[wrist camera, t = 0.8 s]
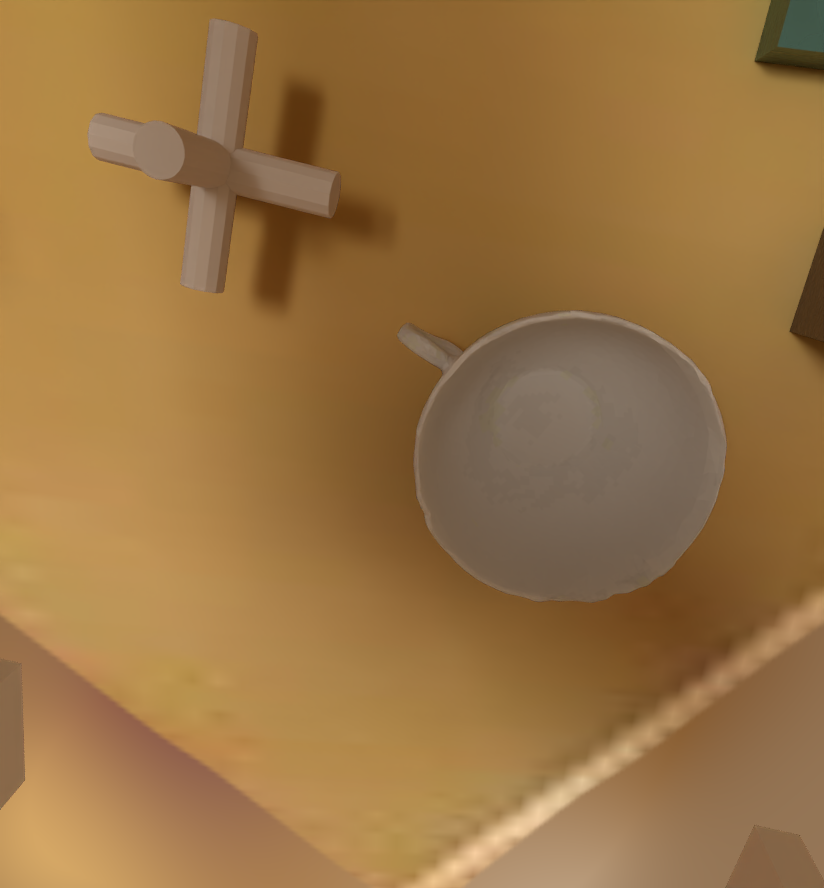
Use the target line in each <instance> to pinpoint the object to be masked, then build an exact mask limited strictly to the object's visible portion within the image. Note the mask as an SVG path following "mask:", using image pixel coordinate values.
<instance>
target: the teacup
mask: <svg viewBox="0 0 824 888" xmlns="http://www.w3.org/2000/svg"><path fill="white" fill-rule="evenodd" d="M397 337H398V339H399V340H400V341H401V342H402V343H403V344H404V345H405V346H406V347H408V348H409V349H410V350H411V351H413V352H414V353H416V354H417V355H418V356H420V357H421V358H423V359H425V360H426V361H428V362H429V363H431V364H433V365H434V366H436V367H438V368H439V369H441V371H442V374H443V375H442V377H441V378H440V380H439V381H438V383H437V384H436V386H435V387H434V389H433V391H432V392H431V394H430V396H429V398H428V400H427V402H426V403H425V406H424V409H423V411H422V414H421V416H420V419H419V422H418V426H417V431H416V440H415V449H414V458H413V461H414V474H415V483H416V498H417V500H418V501H419V503H420V507H421V509H423V512H424V515H425V516H424V517H425V522H426V525H427V527H428V529H429V531H430V532H431V534H432V535H433V537H434V538H435V539H436V541H437V542H438V543H439V545H440V546H441V547H442V548H443V549H444V550H445V551H446V552H447V553H448V554H449V555H450V556H451V557H452V558H453V559H454V561H455V562H456V563H457V564H458V565H460V566H461V567H462V568H463V569H464V570H465V571H466V572H468V573H469V574H470V575H472V576H473V577H474V578H476V579H477V580H479V581H481V582H482V583H484V584H486V585H489V586H491V587H493V588H495V589H497V590H499V591H501V592H504V593H506V594H511V595H516V596H520V597H524V598H528V599H530V600H532V601H536V602H543V601H550V600H554V601H581V602H590V603H594V602H597V601H602V600H606V599H607V598H609V597H610V596H612V595H614V594H622V593H630V592H632V591H634V590H636V589H638V588H641V587H645V586H648V585H649V584H650V583H651V582H652V581H653V580H655V579H656V578H657V577H660V576H663V575H664V574H665V573H666V572H667V571H668V570H669V569H671V568H672V567H673V566H674V565H675V563H676V561H677V560H678V559H679V558H680V557H681V555H682V554H683V553H684V552H685V551H686V550H687V549H688V547H689V546H690V545H691V544H692V543H693V542H694V540H695V539H696V537H697V536H698V535H699V533H700V532H701V530H702V529H703V528H704V526H705V524H706V522H707V520H708V518H709V515H710V513H711V511H712V509H713V507H714V505H715V502H716V500H717V496H718V492H719V488H720V485H721V482H722V479H723V475H724V471H725V465H724V463H725V457H726V449H727V442H726V434H725V429H724V425H723V420H722V416H721V413H720V410H719V407H718V405H717V402H716V400H715V397H714V396H713V394H712V390H711V386H710V384H709V382H708V380H707V379H706V377H705V376H704V375H703V374H702V373H701V371H700V370H699V369H698V368H697V366H696V365H695V363H694V362H693V361H692V360H691V359H690V358H688V357H687V356H686V355H685V354H683V353H682V352H681V351H680V350H679V349H677V348H676V347H675V346H674V345H672V344H671V343H670V342H668V341H666V340H665V339H663V338H662V337H660V336H658V335H657V334H655V333H654V332H652V331H650V330H648V329H646V328H644V327H642V326H640V325H638V324H635V323H632V322H630V321H627V320H625V319H622V318H619V317H616V316H612V315H608V314H603V313H597V312H590V311H580V310H572V311H554V312H546V313H540V314H536V315H532V316H528V317H524V318H520V319H518V320H515V321H512V322H509V323H507V324H505V325H503V326H501V327H499V328H496V329H494V330H493V331H491V332H489V333H487V334H486V335H484V336H482V337H481V338H479V339H478V340H477V341H475V342H474V343H473V344H472V345H470V346H469V347H468V348H467V349H466V350H465V351H464V352H463V351H462V350H461V349H459V348H458V347H457V346H455V345H454V344H452V343H451V342H449V341H447V340H444V339H442V338H439V337H436V336H434V335H431V334H429V333H427V332H425V331H423V330H422V329H420V328H418V327H416V326H415V325H413V324H412V323H406V324H405V325H403V326H402V327H401V329H400V331H399V332H398V334H397Z"/></svg>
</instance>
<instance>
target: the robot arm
mask: <svg viewBox="0 0 824 888" xmlns="http://www.w3.org/2000/svg"><path fill="white" fill-rule="evenodd" d="M22 699H23V697H22V664H21V663H18V662H14V661H9V660H5V659H0V809H1V808H2V807H3V806H4V804H5V803H6V802H7V801H8V800H9V799H10V797H11V796H12V795H13V794H14V793H15V791H16V790H17V789H18V788H19V787H20V786H21V784H22V783H23V782H24V781H25V767H24V766H25V765H24V731H23V700H22ZM725 888H824V880H823V878H822V876H821V874H820V872H819V870H818V869H817V867H816V865H815V863H814V861H813V859H812V858H811V855H810V854H809V852H808V850H807V848H806V846H805V844H804V843H803V841H802V839H801V837H800V835H797V834H792V833H788V832H783V831H779V830H774V829H770V828H765V827H761V826H756V825H754V827H753V829H752V832H751V834H750V836H749V838H748V840H747V842H746V844H745V846H744V849H743V851H742V853H741V855H740V857H739V859H738V862H737V864H736V866H735V868H734V870H733V872H732V874H731V877H730V879H729V881H728V883H727V885H726V887H725Z"/></svg>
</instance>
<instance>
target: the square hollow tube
mask: <svg viewBox="0 0 824 888" xmlns="http://www.w3.org/2000/svg"><path fill="white" fill-rule="evenodd" d="M790 332H794V333H797V334H800V335H803V336H806V337H810V338H813V339H816V340H819V341H823V342H824V229H823V232H822V235H821V238H820V241H819V244H818V247H817V250H816V253H815V256H814V260H813V263H812V266H811V269H810V272H809V275H808V278H807V281H806V284H805V287H804V290H803V293H802V296H801V299H800V302H799V305H798V308H797V311H796V314H795V317H794V320H793V323H792V326H791V329H790Z"/></svg>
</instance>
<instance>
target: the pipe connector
mask: <svg viewBox="0 0 824 888" xmlns="http://www.w3.org/2000/svg"><path fill="white" fill-rule="evenodd" d="M257 40H258V35H257V33H255V32H254V31H252V30H250V29H248V28H246V27H243V26H241V25H239V24H235V23H232V22H229V21H225V20H220V19H210V22H209V31H208V40H207V49H206V58H205V67H204V76H203V85H202V94H201V103H200V112H199V121H198V130H197V134H195V133H193V132H190V131H187V130H184V129H181V128H179V127H176V126H173V125H170V124H167V123H165V122H162V121H151V122H147V123H141V122H137V121H133V120H129V119H125V118H121V117H117V116H113V115H109V114H105V113H99V114H95V116H94V117H93V118H92V120H91V121H90V125H89V130H88V142H89V148H90V150H91V152H92V155H93V156H94V157H95V158H97V159H98V160H100V161H104V162H108V163H112V164H116V165H120V166H124V167H128V168H132V169H136V170H140V171H143V172H144V173H145V174H147V175H148V176H149V177H152V178H154V179H158V180H164V181H169V182H175V183H181V184H187V185H191V193H190V202H189V211H188V220H187V229H186V238H185V247H184V256H183V265H182V274H181V283H180V284H181V285H183V286H185V287H188V288H191V289H194V290H199V291H204V292H212V293H223V292H224V287H225V279H226V272H227V264H228V257H229V249H230V242H231V234H232V227H233V219H234V212H235V205H236V197H237V195H239V196H243V197H247V198H251V199H255V200H259V201H263V202H267V203H271V204H275V205H279V206H283V207H287V208H291V209H295V210H299V211H302V212H306V213H310V214H314V215H318V216H322V217H326V218H330V219H331V218H332V217H333V216H334V213H335V211H336V208H337V205H338V201H339V196H340V188H341V176H340V173H339V172H337V171H333V170H329V169H325V168H321V167H317V166H313V165H309V164H305V163H301V162H297V161H293V160H289V159H285V158H281V157H277V156H273V155H269V154H265V153H261V152H257V151H253V150H249V149H245V148H243V145H244V137H245V130H246V122H247V115H248V108H249V100H250V93H251V85H252V78H253V70H254V63H255V55H256V48H257Z"/></svg>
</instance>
